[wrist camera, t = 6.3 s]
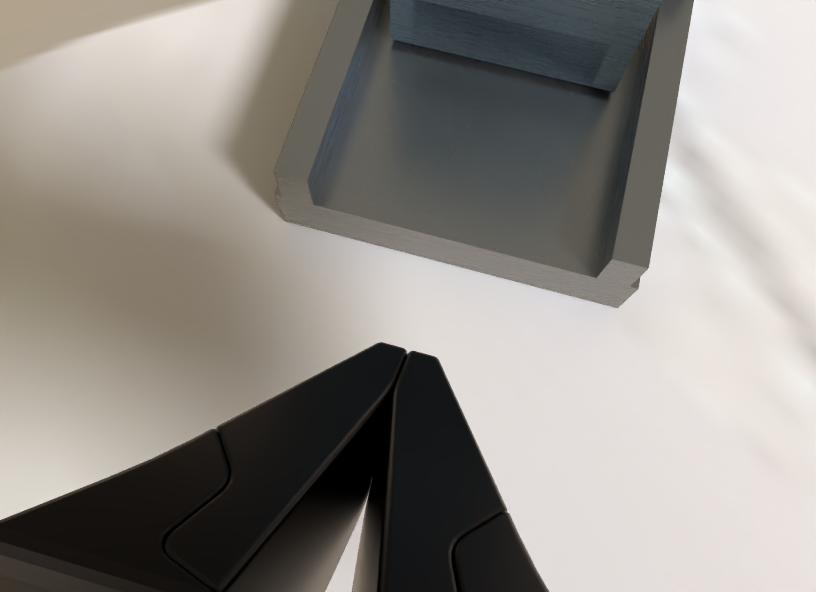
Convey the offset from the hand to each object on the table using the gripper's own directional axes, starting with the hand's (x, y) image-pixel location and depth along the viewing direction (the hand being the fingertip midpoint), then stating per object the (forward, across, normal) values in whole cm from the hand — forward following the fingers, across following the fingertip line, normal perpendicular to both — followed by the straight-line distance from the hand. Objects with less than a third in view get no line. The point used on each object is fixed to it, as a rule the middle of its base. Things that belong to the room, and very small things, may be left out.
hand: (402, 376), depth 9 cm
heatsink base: (+12, 0, -2) cm, 12 cm away
